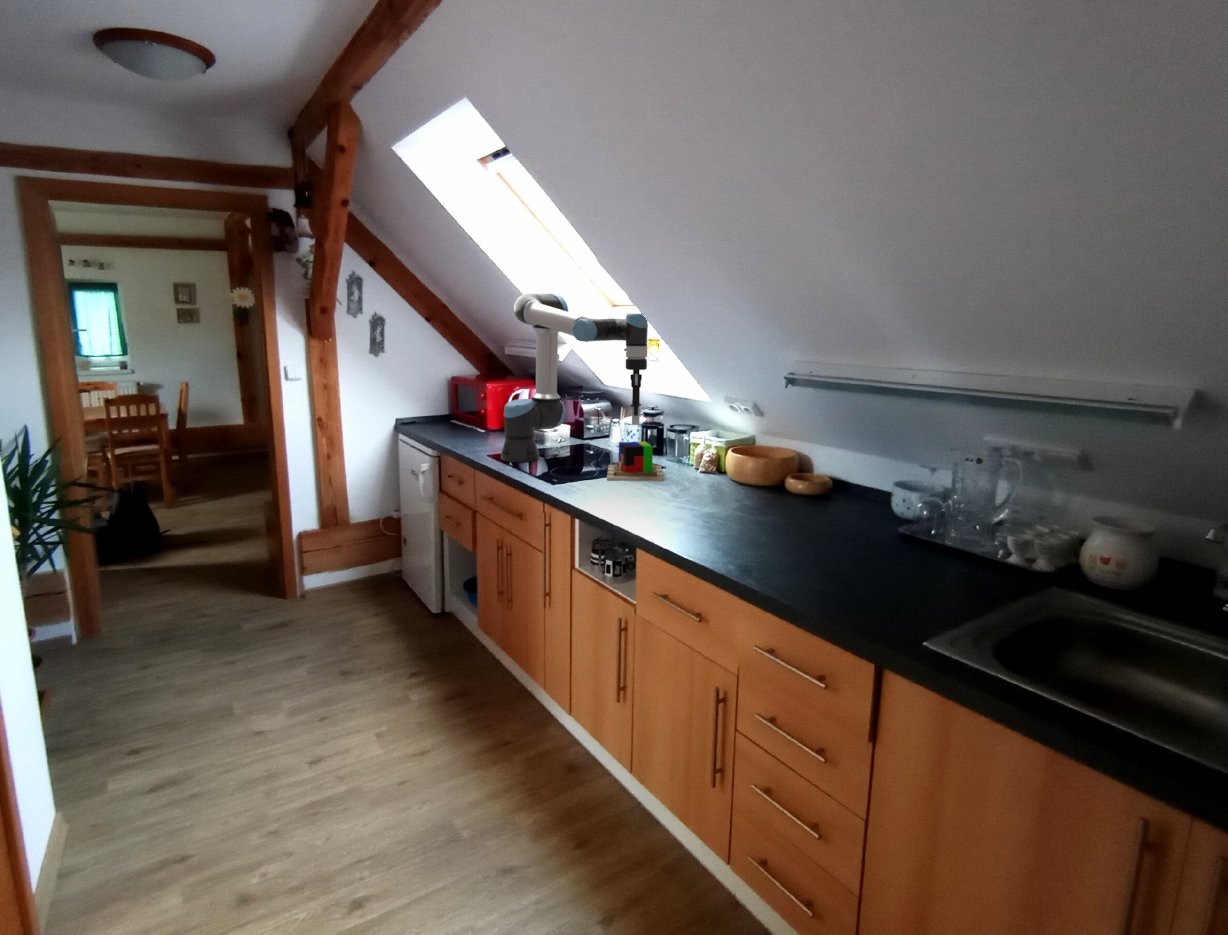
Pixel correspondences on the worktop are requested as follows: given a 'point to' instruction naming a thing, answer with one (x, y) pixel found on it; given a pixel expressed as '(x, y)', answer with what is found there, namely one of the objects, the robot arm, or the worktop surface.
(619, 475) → the locating board
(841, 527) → the worktop surface
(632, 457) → the puzzle toy
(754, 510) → the worktop surface
